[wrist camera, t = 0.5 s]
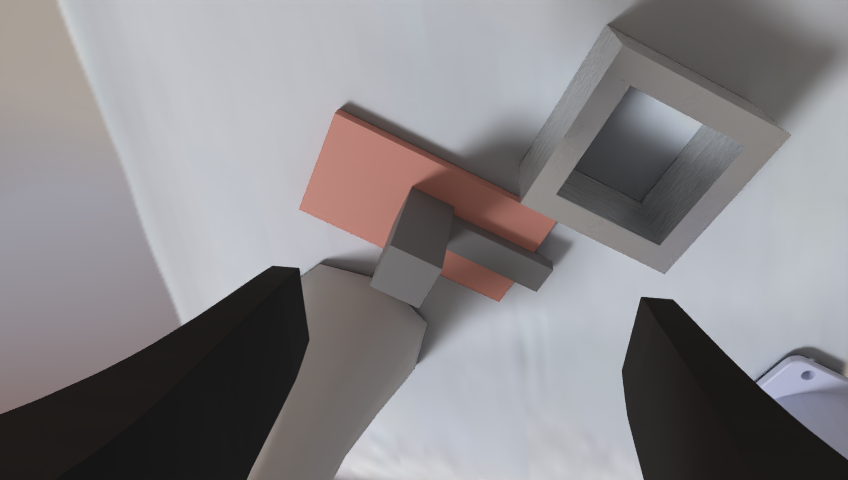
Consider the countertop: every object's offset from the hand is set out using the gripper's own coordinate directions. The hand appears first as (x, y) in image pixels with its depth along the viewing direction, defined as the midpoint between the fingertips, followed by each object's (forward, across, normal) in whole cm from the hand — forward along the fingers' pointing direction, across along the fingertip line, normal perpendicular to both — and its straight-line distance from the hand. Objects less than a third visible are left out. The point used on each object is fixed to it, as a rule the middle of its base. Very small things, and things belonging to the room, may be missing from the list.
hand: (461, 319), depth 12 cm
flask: (+10, +6, +9) cm, 15 cm away
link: (+10, -5, -1) cm, 11 cm away
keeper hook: (+10, +2, +2) cm, 10 cm away
